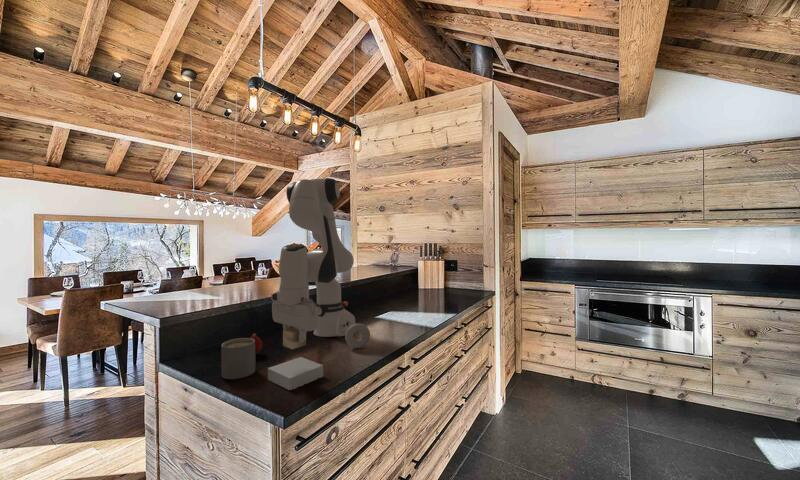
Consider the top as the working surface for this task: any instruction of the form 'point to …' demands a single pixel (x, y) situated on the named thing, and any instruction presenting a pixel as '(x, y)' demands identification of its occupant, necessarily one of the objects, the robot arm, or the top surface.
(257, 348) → the onion
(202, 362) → the top surface
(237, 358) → the coffee mug
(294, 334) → the maple cube
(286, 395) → the top surface
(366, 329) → the donut
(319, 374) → the painted block
